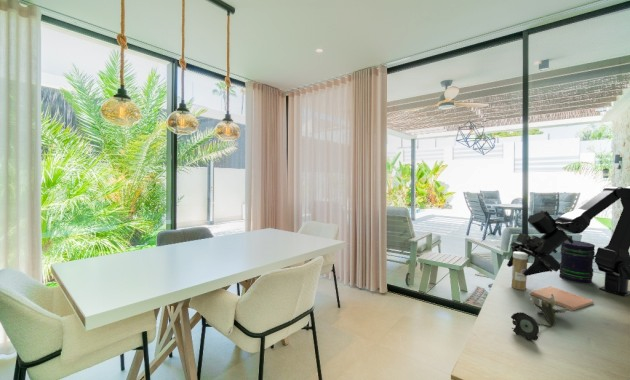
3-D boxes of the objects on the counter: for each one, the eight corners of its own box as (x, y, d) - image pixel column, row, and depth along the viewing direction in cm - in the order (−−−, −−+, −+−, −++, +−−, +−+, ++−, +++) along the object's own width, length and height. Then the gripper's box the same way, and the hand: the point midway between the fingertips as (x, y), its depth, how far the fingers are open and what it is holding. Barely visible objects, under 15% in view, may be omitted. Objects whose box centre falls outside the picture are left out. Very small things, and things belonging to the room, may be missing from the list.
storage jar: (557, 278, 109) (559, 242, 108) (560, 272, 116) (562, 238, 115) (592, 286, 102) (595, 247, 101) (593, 279, 108) (595, 243, 107)
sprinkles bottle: (520, 291, 97) (522, 255, 96) (508, 286, 102) (509, 251, 101) (529, 289, 99) (531, 254, 98) (516, 284, 103) (518, 250, 102)
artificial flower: (502, 334, 74) (496, 296, 76) (546, 324, 83) (540, 291, 85) (539, 343, 66) (531, 300, 68) (584, 332, 75) (575, 294, 77)
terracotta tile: (550, 288, 99) (550, 286, 99) (593, 303, 88) (593, 300, 88) (530, 294, 95) (530, 291, 95) (572, 310, 84) (573, 307, 83)
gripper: (516, 222, 107) (486, 248, 109) (553, 232, 89) (517, 263, 91) (536, 241, 107) (505, 267, 109) (577, 256, 89) (540, 286, 90)
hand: (515, 270), depth 100 cm, fingers open, 9 cm apart
